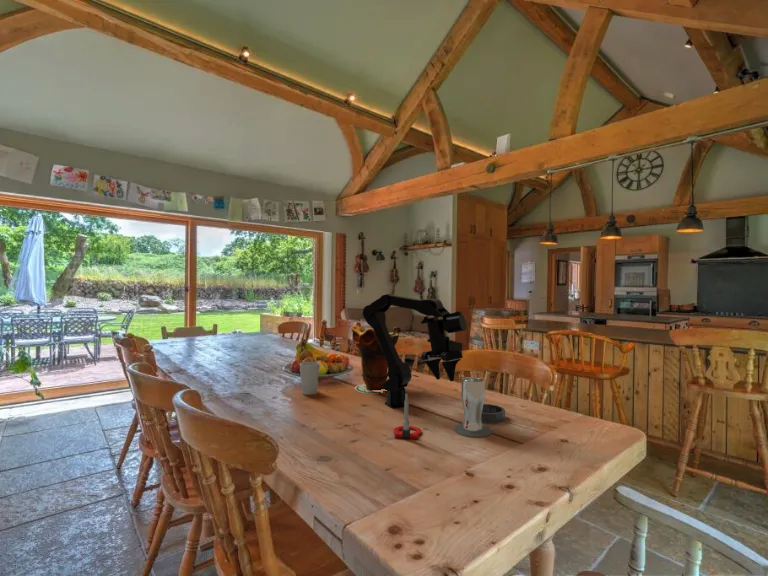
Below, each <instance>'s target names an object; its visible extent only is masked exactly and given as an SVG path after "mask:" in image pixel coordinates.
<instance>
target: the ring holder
mask: <svg viewBox="0 0 768 576" xmlns="http://www.w3.org/2000/svg"><path fill="white" fill-rule="evenodd" d="M505 420H506V410H505V408H504V407H502V406H500V405H496V404H492V403H484V406H483V411H482V423H483V424H499V423H503V422H505Z"/></svg>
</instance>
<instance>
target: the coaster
mask: <svg viewBox="0 0 768 576" xmlns="http://www.w3.org/2000/svg"><path fill="white" fill-rule="evenodd" d="M463 423H464V422H463ZM463 423H459V424H456V425H455V426H454V431H455V432H456V433H457V434H458V435H461V436H464V437H468V438H477V439H479V438H486V437H489V436H491V435H492V434H493V430H492V429H491V427H490V426H488V425H485V424H482V425H483V431H481V432H468V431H466V430H464V429H463Z"/></svg>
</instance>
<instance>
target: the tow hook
mask: <svg viewBox="0 0 768 576" xmlns="http://www.w3.org/2000/svg"><path fill="white" fill-rule="evenodd" d="M403 408H404V409H403V411H404V412H403V413H404V414H403V415H404V416H403V417H404V418H403V422H402V423H403V425H400V426H395V428H393V434H394V439H404V440H418V438H419V436H421V435H422V434H423V433H422V431H423V430H422V429H421V428H419V427H417V426H413V425H410V420H409V408H410V407H409V394H408V393H407V392H406V393H405V403H404V406H403ZM411 431H414V432H411Z"/></svg>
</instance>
